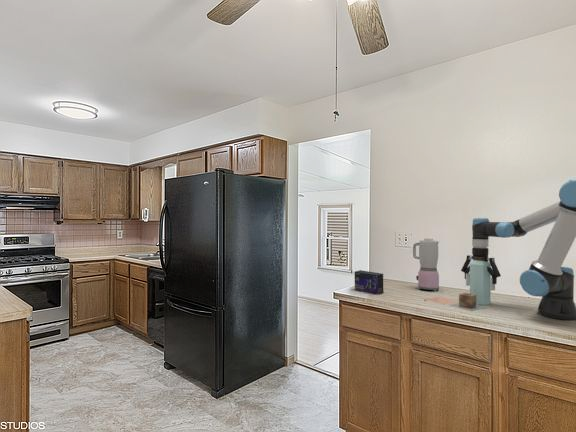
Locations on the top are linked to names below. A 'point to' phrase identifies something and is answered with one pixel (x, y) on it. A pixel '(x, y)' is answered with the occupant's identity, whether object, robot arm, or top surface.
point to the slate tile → (468, 308)
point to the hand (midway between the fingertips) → (479, 287)
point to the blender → (427, 264)
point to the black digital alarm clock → (369, 282)
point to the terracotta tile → (441, 300)
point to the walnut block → (467, 300)
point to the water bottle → (480, 280)
